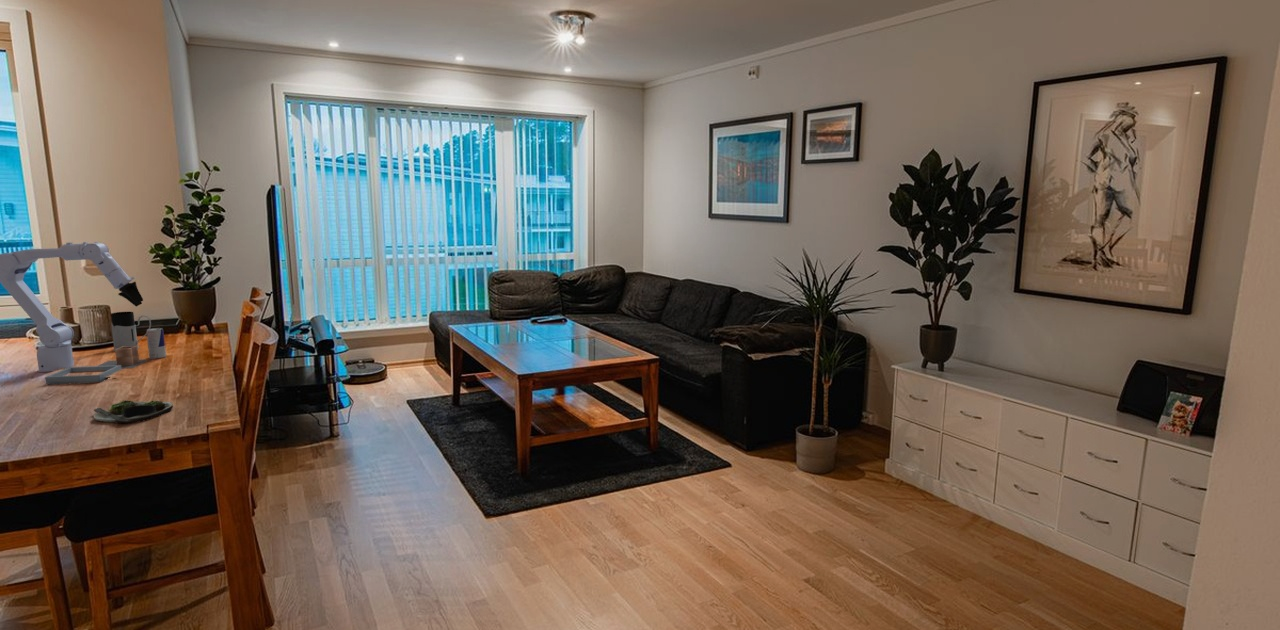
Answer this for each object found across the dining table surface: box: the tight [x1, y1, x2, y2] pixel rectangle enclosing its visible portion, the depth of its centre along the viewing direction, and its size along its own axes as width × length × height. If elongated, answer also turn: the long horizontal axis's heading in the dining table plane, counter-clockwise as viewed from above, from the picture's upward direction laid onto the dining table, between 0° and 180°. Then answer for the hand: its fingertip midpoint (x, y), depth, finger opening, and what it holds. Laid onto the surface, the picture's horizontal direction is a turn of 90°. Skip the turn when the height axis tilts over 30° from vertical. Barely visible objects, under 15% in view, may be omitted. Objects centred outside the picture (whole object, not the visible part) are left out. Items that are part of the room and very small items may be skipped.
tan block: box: [114, 346, 140, 365], centre depth 255 cm, size 5×7×6 cm
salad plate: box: [93, 400, 174, 424], centre depth 200 cm, size 19×18×5 cm
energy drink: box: [145, 327, 167, 360], centre depth 264 cm, size 5×5×12 cm
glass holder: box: [110, 311, 152, 352], centre depth 281 cm, size 9×14×15 cm, turn 104°
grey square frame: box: [44, 365, 123, 385], centre depth 238 cm, size 16×14×2 cm
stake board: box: [97, 358, 152, 370], centre depth 253 cm, size 14×14×4 cm
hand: (139, 303), depth 251 cm, fingers open, 7 cm apart
